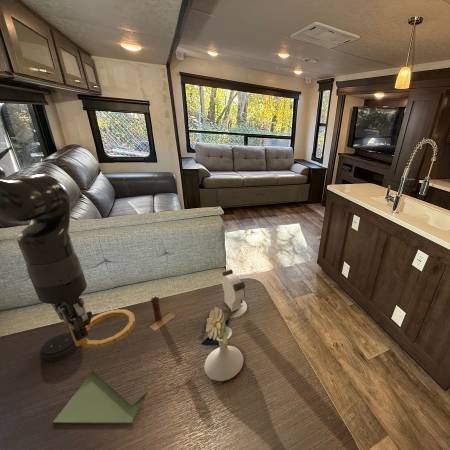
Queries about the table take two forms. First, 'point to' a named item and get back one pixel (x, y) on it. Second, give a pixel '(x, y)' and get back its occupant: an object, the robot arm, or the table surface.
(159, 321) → the stand
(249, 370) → the table surface
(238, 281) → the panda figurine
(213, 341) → the cell phone
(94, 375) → the olive green flat piece
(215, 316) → the flower in vase
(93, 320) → the orange ring with tab
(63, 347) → the smart speaker
